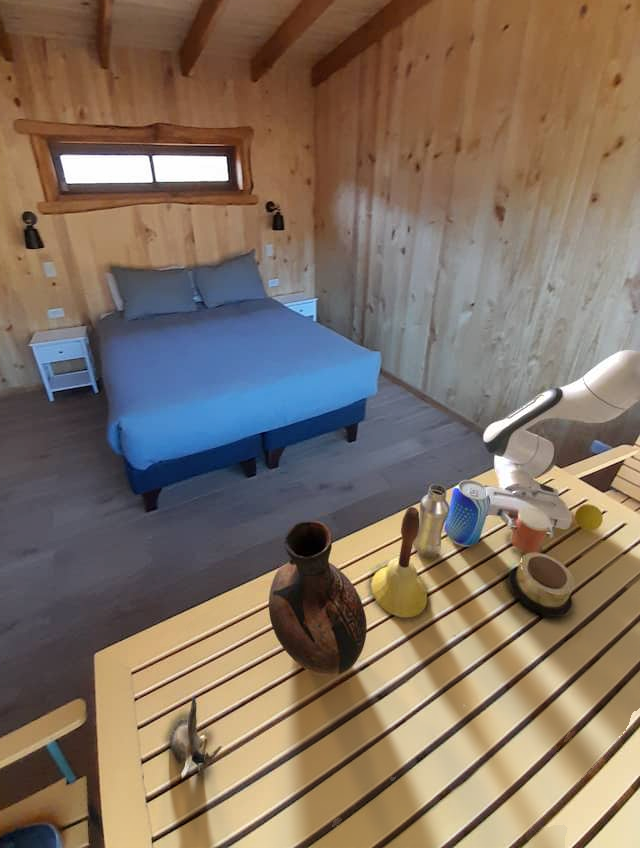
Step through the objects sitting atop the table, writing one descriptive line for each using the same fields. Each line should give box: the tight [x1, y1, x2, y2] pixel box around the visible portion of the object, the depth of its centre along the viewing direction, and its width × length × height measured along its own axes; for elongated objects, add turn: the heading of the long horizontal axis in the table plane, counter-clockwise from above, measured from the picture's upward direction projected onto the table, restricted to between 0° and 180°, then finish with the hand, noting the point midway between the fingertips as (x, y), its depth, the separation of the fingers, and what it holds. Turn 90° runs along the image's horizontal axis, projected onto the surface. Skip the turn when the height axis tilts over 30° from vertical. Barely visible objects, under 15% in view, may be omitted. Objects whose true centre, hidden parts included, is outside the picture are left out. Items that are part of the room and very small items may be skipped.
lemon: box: [574, 503, 604, 532], centre depth 103 cm, size 6×6×8 cm
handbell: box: [370, 506, 428, 618], centre depth 85 cm, size 12×12×25 cm
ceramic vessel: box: [268, 520, 368, 676], centre depth 75 cm, size 21×18×30 cm
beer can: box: [444, 479, 490, 547], centre depth 101 cm, size 8×8×16 cm
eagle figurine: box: [169, 695, 222, 779], centre depth 66 cm, size 8×7×9 cm
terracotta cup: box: [509, 507, 551, 554], centre depth 99 cm, size 7×7×9 cm
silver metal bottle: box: [412, 483, 450, 558], centre depth 96 cm, size 6×7×20 cm
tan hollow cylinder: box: [507, 552, 575, 620], centre depth 88 cm, size 12×12×8 cm
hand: (531, 531), depth 98 cm, fingers closed on terracotta cup, 6 cm apart
